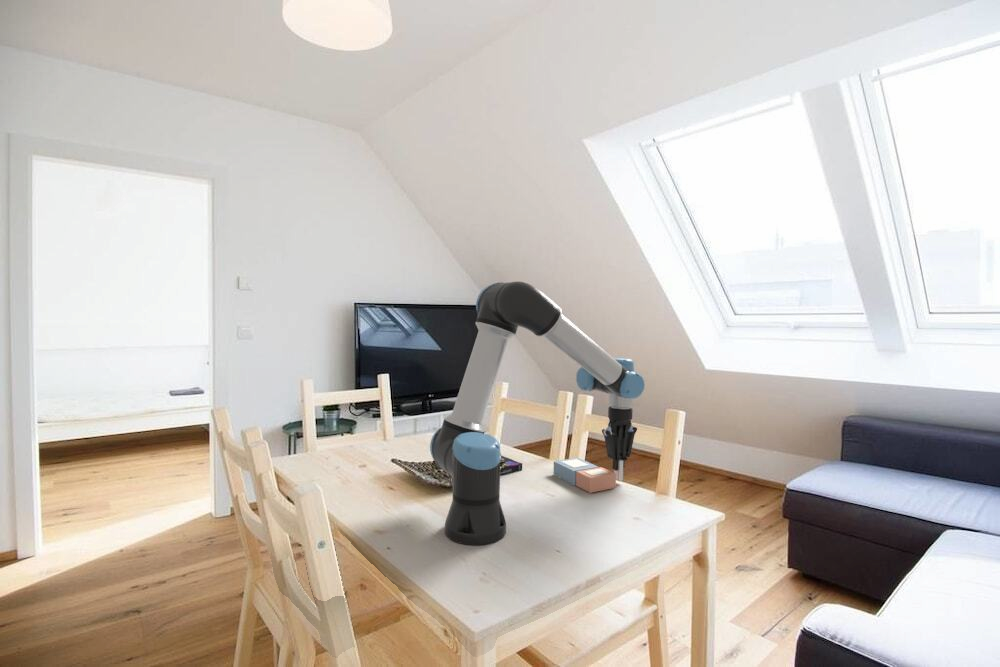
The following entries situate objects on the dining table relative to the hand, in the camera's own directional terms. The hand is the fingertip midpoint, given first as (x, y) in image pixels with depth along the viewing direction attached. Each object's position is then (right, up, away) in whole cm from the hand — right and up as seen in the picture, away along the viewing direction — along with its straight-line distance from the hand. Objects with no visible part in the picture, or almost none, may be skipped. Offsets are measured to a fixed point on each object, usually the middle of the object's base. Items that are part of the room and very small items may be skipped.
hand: (618, 479), depth 160 cm
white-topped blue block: (-13, -1, +5) cm, 14 cm away
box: (-42, -1, +10) cm, 43 cm away
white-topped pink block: (-8, -1, -4) cm, 9 cm away
